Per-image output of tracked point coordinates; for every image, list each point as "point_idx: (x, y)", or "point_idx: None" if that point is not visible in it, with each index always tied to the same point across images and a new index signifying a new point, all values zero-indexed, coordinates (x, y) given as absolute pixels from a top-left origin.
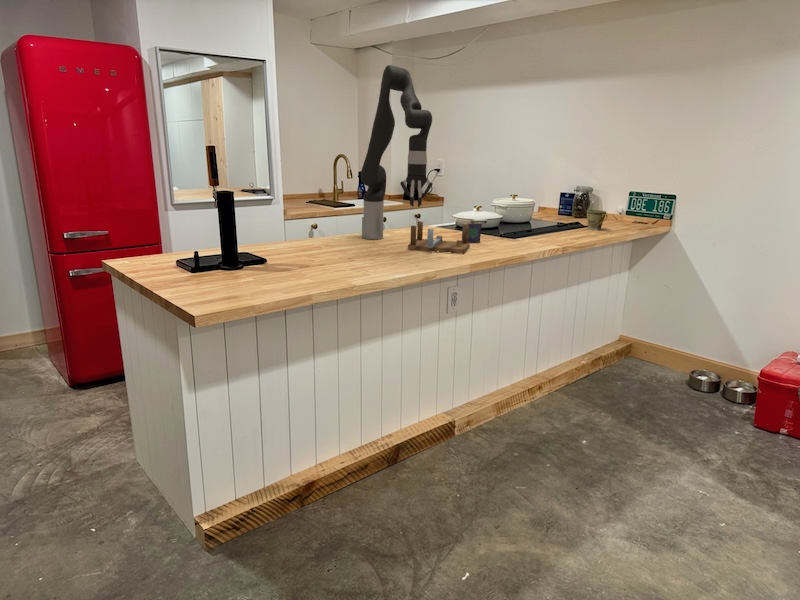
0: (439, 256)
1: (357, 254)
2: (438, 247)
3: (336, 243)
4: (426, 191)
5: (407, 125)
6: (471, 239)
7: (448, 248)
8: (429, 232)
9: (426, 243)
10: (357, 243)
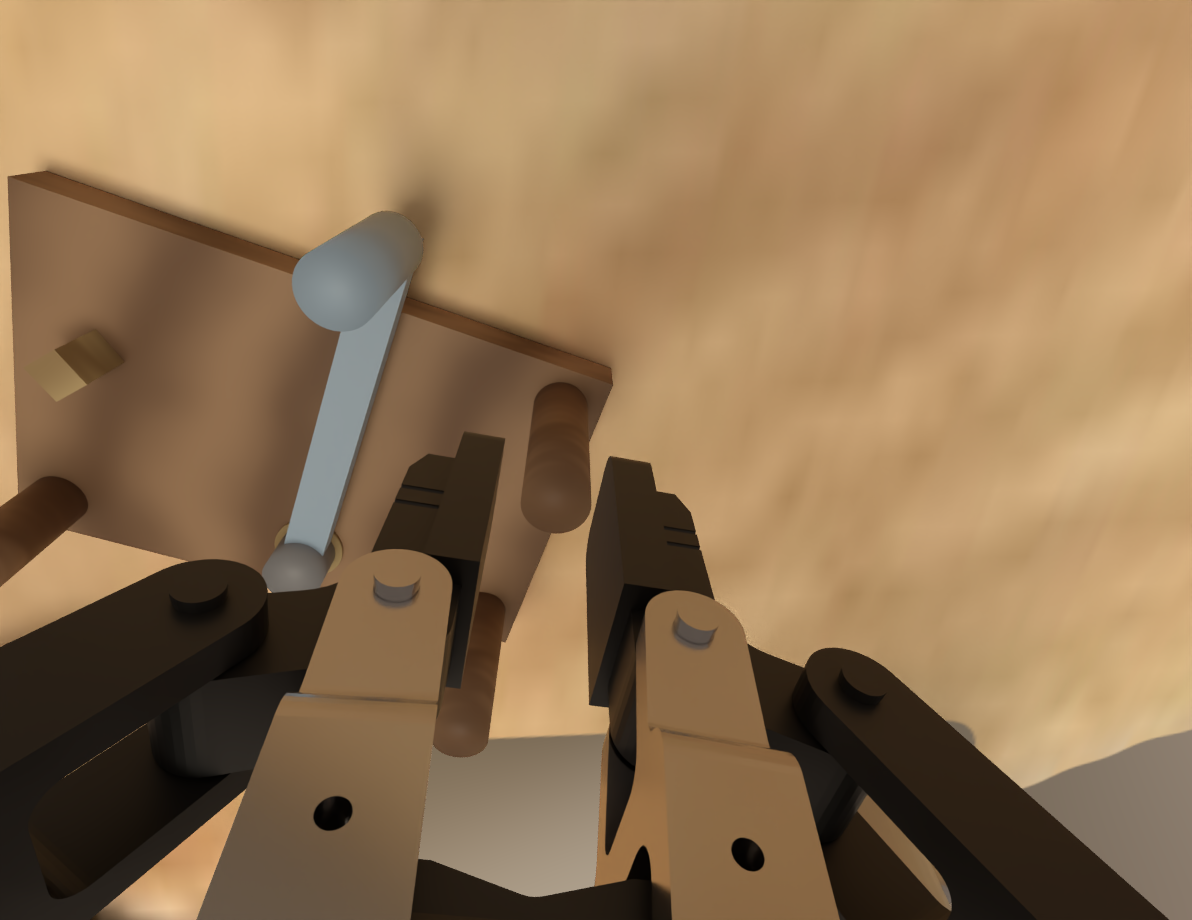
0: (306, 49)
1: (1145, 149)
2: None
3: (1134, 587)
4: (27, 686)
5: None
6: None
7: (197, 242)
8: (362, 245)
9: None
10: (973, 592)
